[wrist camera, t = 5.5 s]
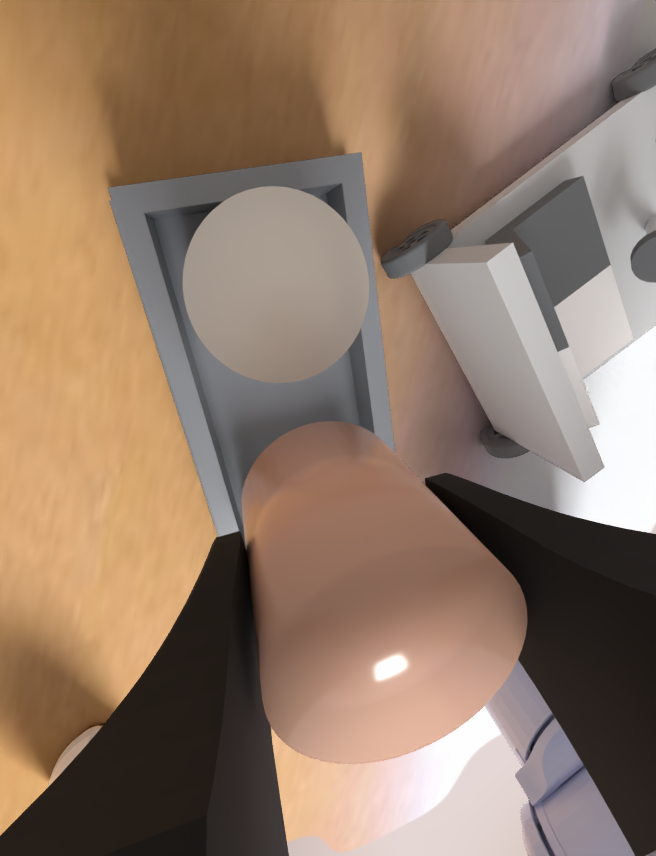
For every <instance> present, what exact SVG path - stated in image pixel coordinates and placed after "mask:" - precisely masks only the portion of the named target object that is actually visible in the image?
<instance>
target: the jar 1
mask: <svg viewBox="0 0 656 856" xmlns="http://www.w3.org/2000/svg"><path fill="white" fill-rule="evenodd" d="M183 295H184V301H185V305H186V310H187V313H188V316H189V318H190V321H191V324H192V326H193V328H194V330H195V332H196V334H197V335H198V337H199V338H200V340H201V341H202V343H203V344H204V346H205V347H206V348H207V349H208V350H209V351H210V352H211V354H212V355H213V356H214V357H216V358H217V359H218V360H219V361H220V362H221V363H222V364H224V365H225V366H227V367H228V368H230V369H231V370H233V371H235V372H237V373H239V374H241V375H243V376H245V377H248V378H251V379H254V380H258V381H263V382H270V383H289V382H295V381H300V380H303V379H307V378H310V377H312V376H314V375H316V374H319V373H321V372H322V371H324V370H326V369H327V368H329V367H330V366H331V365H333V364H334V363H335V362H336V361H338V360H339V359H340V358H341V357H342V356H343V355H344V354H345V353H346V351H347V350H348V349H349V347H350V346H351V345H352V343H353V342H354V340H355V338H356V337H357V335H358V333H359V331H360V329H361V326H362V324H363V321H364V318H365V315H366V311H367V306H368V300H369V275H368V270H367V264H366V261H365V257H364V254H363V251H362V249H361V246H360V244H359V242H358V240H357V238H356V236H355V235H354V233H353V231H352V230H351V228H350V227H349V225H348V224H347V223H346V222H345V220H344V219H343V218H342V217H341V216H340V215H339V214H338V213H337V212H336V211H335V210H334V209H333V208H331V207H330V206H329V205H327V204H326V203H325V202H323V201H322V200H320V199H318V198H316V197H315V196H313V195H311V194H308V193H306V192H303V191H300V190H297V189H292V188H288V187H278V186H268V187H258V188H254V189H249V190H246V191H243V192H241V193H238V194H236V195H234V196H232V197H230V198H228V199H227V200H225V201H223V202H222V203H221V204H220V205H218V206H217V207H216V208H215V209H213V210H212V211H211V212H210V213H209V215H208V216H207V217H206V218H205V219H204V220H203V221H202V223H201V224H200V226H199V227H198V229H197V230H196V232H195V234H194V236H193V238H192V240H191V242H190V245H189V248H188V251H187V254H186V257H185V263H184V268H183Z"/></svg>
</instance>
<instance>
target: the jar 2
mask: <svg viewBox="0 0 656 856" xmlns="http://www.w3.org/2000/svg"><path fill="white" fill-rule="evenodd" d="M242 516H243V525H244V535H245V544H246V553H247V562H248V571H249V581H250V590H251V599H252V608H253V618H254V627H255V636H256V645H257V655H258V664H259V673H260V682H261V692H262V701H263V705H264V710H265V714H266V716H267V719H268V721H269V723H270V726H271V727H272V729H273V730H274V731H275V733H276V734H277V736H278V737H279V738H280V739H281V740H282V741H283V742H284V743H286V744H287V745H288V746H289V747H291V748H292V749H294V750H295V751H297V752H299V753H301V754H303V755H305V756H307V757H310V758H313V759H316V760H320V761H323V762H330V763H337V764H363V763H372V762H378V761H384V760H388V759H392V758H396V757H399V756H402V755H405V754H408V753H411V752H414V751H416V750H418V749H421V748H423V747H425V746H428V745H430V744H432V743H433V742H435V741H437V740H439V739H441V738H443V737H444V736H446V735H448V734H449V733H451V732H452V731H454V730H456V729H457V728H458V727H460V726H461V725H462V724H464V723H465V722H466V721H468V720H469V719H470V718H472V717H473V716H474V715H475V714H476V713H477V712H478V711H480V710H481V709H482V708H483V707H484V706H485V705H486V704H487V703H488V702H489V701H490V700H491V698H492V697H493V696H494V695H495V694H496V693H497V691H498V690H499V689H500V688H501V686H502V685H503V684H504V682H505V681H506V679H507V678H508V676H509V675H510V673H511V671H512V670H513V668H514V666H515V664H516V662H517V660H518V658H519V655H520V653H521V650H522V648H523V644H524V640H525V636H526V630H527V607H526V602H525V597H524V595H523V592H522V590H521V587H520V585H519V584H518V582H517V581H516V579H515V578H514V576H513V575H512V574H511V573H510V572H509V571H508V570H507V569H506V568H505V566H504V565H503V564H502V563H501V562H500V561H499V560H498V559H497V558H496V557H495V556H494V555H493V554H492V553H491V552H490V551H489V550H488V549H487V548H486V547H485V546H484V545H483V544H482V543H481V542H480V541H479V540H478V539H477V538H476V537H475V536H474V535H473V534H472V532H471V531H470V530H469V529H468V528H467V527H466V526H465V525H464V524H463V523H462V522H461V521H460V520H459V519H458V518H457V517H456V516H455V515H454V514H453V513H452V512H451V511H450V510H449V509H448V508H447V507H446V506H445V505H444V504H443V503H442V502H441V501H440V500H439V498H438V497H437V496H436V495H435V494H434V493H433V492H432V491H431V490H430V489H429V488H428V487H427V486H426V485H425V484H424V483H423V482H422V481H421V480H420V479H419V478H418V477H417V476H416V475H415V474H414V473H413V472H412V471H411V470H410V469H409V468H408V467H407V465H406V464H405V463H404V462H403V461H402V460H401V459H400V458H399V457H398V456H397V455H396V454H395V453H394V452H393V451H392V450H391V449H390V448H389V447H388V446H387V445H386V444H385V443H384V442H383V441H382V440H381V439H380V438H379V437H378V436H376V435H375V434H374V433H372V432H371V431H369V430H367V429H365V428H363V427H360V426H358V425H355V424H351V423H347V422H339V421H322V422H316V423H311V424H307V425H304V426H301V427H298V428H296V429H294V430H291V431H289V432H287V433H286V434H284V435H282V436H281V437H279V438H278V439H276V440H275V441H274V442H273V443H271V444H270V445H269V446H268V447H267V448H266V449H265V450H264V451H263V452H262V453H261V454H260V456H259V457H258V458H257V459H256V461H255V462H254V464H253V466H252V467H251V469H250V471H249V473H248V475H247V478H246V480H245V484H244V487H243V492H242Z"/></svg>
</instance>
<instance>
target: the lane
mask: <svg viewBox="0 0 656 856" xmlns="http://www.w3.org/2000/svg"><path fill="white" fill-rule="evenodd" d="M268 186H278V187H288V188H292V189H297V190H300V191H303V192H306V193H308V194H311V195H313V196H315V197H316V198H318V199H320V200H322V201H323V202H325V203H326V204H327V205H329V206H330V207H331V208H333V209H334V210H335V211H336V212H337V213H338V214H339V215H340V216H341V217H342V218H343V219H344V220H345V222H346V223H347V224H348V225H349V227H350V228H351V230H352V231H353V233H354V235H355V236H356V238H357V240H358V242H359V244H360V246H361V249H362V251H363V254H364V257H365V261H366V264H367V270H368V275H369V300H368V306H367V311H366V315H365V318H364V321H363V324H362V326H361V329H360V331H359V333H358V335H357V337H356V338H355V340H354V342H353V343H352V345H351V346H350V347H349V349H348V350H347V351H346V353H345V354H344V355H343V356H342V357H341V358H340V359H339V360H338V361H336V362H335V363H334V364H333V365H331V366H330V367H329V368H327V369H326V370H324V371H322V372H321V373H319V374H316V375H314V376H312V377H310V378H307V379H303V380H300V381H295V382H289V383H270V382H263V381H258V380H254V379H251V378H248V377H245V376H243V375H241V374H239V373H237V372H235V371H233V370H231V369H230V368H228V367H227V366H225V365H224V364H222V363H221V362H220V361H219V360H218V359H217V358H216V357H214V356H213V355H212V354H211V352H210V351H209V350H208V349H207V348H206V347H205V346H204V344H203V343H202V341H201V340H200V338H199V337H198V335H197V334H196V332H195V330H194V328H193V326H192V324H191V321H190V318H189V316H188V313H187V310H186V305H185V301H184V295H183V268H184V263H185V257H186V254H187V251H188V248H189V245H190V242H191V240H192V238H193V236H194V234H195V232H196V230H197V229H198V227H199V226H200V224H201V223H202V221H203V220H204V219H205V218H206V217H207V216H208V215H209V213H210V212H211V211H212V210H213V209H215V208H216V207H217V206H218V205H220V204H221V203H222V202H223V201H225V200H227V199H228V198H230V197H232V196H234V195H236V194H238V193H241V192H243V191H246V190H249V189H254V188H258V187H268ZM108 190H109V193H110V196H111V199H112V200H110V201H109V202H110V205H111V208H112V211H113V214H114V217H115V220H116V223H117V226H118V229H119V232H120V236H121V239H122V242H123V245H124V248H125V251H126V254H127V257H128V260H129V263H130V266H131V269H132V273H133V276H134V279H135V282H136V285H137V288H138V291H139V294H140V297H141V300H142V303H143V306H144V309H145V313H146V316H147V319H148V322H149V325H150V328H151V331H152V334H153V337H154V340H155V343H156V346H157V350H158V353H159V356H160V359H161V362H162V365H163V368H164V371H165V374H166V377H167V380H168V383H169V387H170V390H171V393H172V396H173V399H174V402H175V405H176V408H177V411H178V414H179V417H180V420H181V424H182V427H183V430H184V433H185V436H186V439H187V442H188V445H189V448H190V451H191V454H192V457H193V461H194V464H195V467H196V470H197V473H198V476H199V479H200V482H201V485H202V488H203V491H204V494H205V498H206V501H207V504H208V507H209V510H210V513H211V516H212V519H213V522H214V525H215V528H216V531H217V535H218V537H220V536H223V535H227V534H230V533H234V532H237V531H241V534H242V538H243V541H244V545H245V548H246V544H245V535H244V525H243V516H242V492H243V487H244V484H245V480H246V478H247V475H248V473H249V471H250V469H251V467H252V466H253V464H254V462H255V461H256V459H257V458H258V457H259V456H260V454H261V453H262V452H263V451H264V450H265V449H266V448H267V447H268V446H269V445H270V444H271V443H273V442H274V441H275V440H276V439H278V438H279V437H281V436H282V435H284V434H286V433H287V432H289V431H291V430H294V429H296V428H298V427H301V426H304V425H307V424H311V423H316V422H322V421H339V422H347V423H351V424H355V425H358V426H360V427H363V428H365V429H367V430H369V431H371V432H372V433H374V434H375V435H376V436H378V437H379V438H380V439H381V440H382V441H383V442H384V443H385V444H386V445H387V446H388V447H389V448H390V449H391V450H392V451H393V452H394V453H395V448H394V439H393V430H392V421H391V412H390V403H389V394H388V386H387V377H386V368H385V359H384V350H383V341H382V332H381V323H380V314H379V305H378V296H377V287H376V278H375V269H374V260H373V251H372V242H371V233H370V224H369V215H368V206H367V197H366V188H365V179H364V171H363V162H362V153H361V152H360V153H353V154H346V155H339V156H332V157H325V158H317V159H310V160H303V161H296V162H289V163H281V164H274V165H267V166H260V167H253V168H246V169H238V170H231V171H224V172H217V173H210V174H202V175H195V176H188V177H181V178H174V179H167V180H159V181H152V182H145V183H138V184H131V185H123V186H116V187H109V188H108Z"/></svg>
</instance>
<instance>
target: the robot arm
mask: <svg viewBox="0 0 656 856" xmlns="http://www.w3.org/2000/svg"><path fill="white" fill-rule="evenodd" d="M425 484H426V486H427V487H428V488H429V489H430V490H431V491H432V492H433V493H434V494H435V495H436V496H437V497H438V498H439V500H440V501H441V502H442V503H443V504H444V505H445V506H446V507H447V508H448V509H449V510H450V511H451V512H452V513H453V514H454V515H455V516H456V517H457V518H458V519H459V520H460V521H461V522H462V523H463V524H464V525H465V526H466V527H467V528H468V529H469V530H470V531H471V532H472V534H473V535H474V536H475V537H476V538H477V539H478V540H479V541H480V542H481V543H482V544H483V545H484V546H485V547H486V548H487V549H488V550H489V551H490V552H491V553H492V554H493V555H494V556H495V557H496V558H497V559H498V560H499V561H500V562H501V563H502V564H503V565H504V566H505V568H506V569H507V570H508V571H509V572H510V573H511V574H512V575H513V576H514V578H515V579H516V581H517V582H518V584H519V585H520V587H521V590H522V592H523V595H524V597H525V602H526V607H527V630H526V636H525V640H524V644H523V648H522V650H521V653H520V655H519V658H518V660H517V662H516V664H515V666H514V668H513V670H512V671H511V673H510V675H509V676H508V678H507V679H506V681H505V682H504V684H503V685H502V686H501V688H500V689H499V690H498V691H497V693H496V694H495V695H494V696H493V697H492V698H491V700H490V701H489V702H488V703H487V704H486V705H485V707H486V709H487V710H488V712H489V714H490V715H491V717H492V719H493V720H494V722H495V723H496V725H497V727H498V728H499V730H500V732H501V733H502V735H503V736H504V738H505V740H506V741H507V743H508V744H509V746H510V748H511V749H512V751H513V753H514V754H515V756H516V758H517V759H518V761H519V762H520V764H521V766H522V768H521V769H520V770H519V771H518V772H517V773H516V774H515V776H516V778H517V780H518V781H519V783H520V785H521V787H522V788H523V790H524V792H525V793H526V795H527V797H528V799H529V800H528V801H527V802H525V803H524V804H523V806H522V808H521V821H522V832H523V841H524V845H525V848H526V851H527V854H528V856H656V534H652V533H646V532H641V531H635V530H629V529H624V528H619V527H614V526H610V525H605V524H601V523H597V522H593V521H589V520H585V519H581V518H577V517H573V516H569V515H566V514H562V513H559V512H555V511H552V510H549V509H546V508H543V507H539V506H536V505H533V504H530V503H527V502H524V501H521V500H519V499H516V498H513V497H510V496H508V495H505V494H502V493H499V492H497V491H494V490H492V489H489V488H486V487H484V486H481V485H478V484H476V483H473V482H471V481H468V480H465V479H463V478H460V477H457V476H454V475H451V474H448V473H443V474H439V475H436V476H432V477H429V478H425ZM0 856H289V854H288V847H287V841H286V834H285V827H284V821H283V814H282V807H281V801H280V794H279V787H278V780H277V773H276V766H275V759H274V752H273V745H272V736H271V726H270V723H269V721H268V719H267V716H266V714H265V710H264V705H263V701H262V692H261V682H260V673H259V664H258V655H257V645H256V636H255V627H254V618H253V608H252V599H251V590H250V581H249V571H248V562H247V553H246V548H245V545H244V541H243V538H242V534H241V531H237V532H234V533H230V534H227V535H223V536H220V537H216V539H215V540H214V542H213V544H212V547H211V549H210V552H209V554H208V557H207V559H206V561H205V564H204V566H203V568H202V571H201V573H200V575H199V577H198V579H197V581H196V583H195V586H194V588H193V590H192V592H191V594H190V596H189V598H188V600H187V602H186V604H185V606H184V607H183V609H182V611H181V613H180V615H179V616H178V618H177V620H176V622H175V624H174V625H173V627H172V629H171V631H170V632H169V634H168V636H167V637H166V639H165V641H164V642H163V644H162V646H161V647H160V649H159V650H158V652H157V653H156V655H155V656H154V658H153V659H152V661H151V662H150V664H149V665H148V667H147V668H146V670H145V671H144V673H143V674H142V676H141V677H140V678H139V680H138V681H137V682H136V684H135V685H134V686H133V688H132V689H131V690H130V692H129V693H128V694H127V696H126V697H125V698H124V700H123V701H122V702H121V703H120V705H119V706H118V707H117V709H116V710H115V711H114V712H113V714H112V715H111V716H110V718H109V719H108V720H107V721H106V723H105V724H104V725H103V726H102V727H101V729H100V730H99V731H98V732H97V733H96V734H95V736H94V737H93V738H92V739H91V740H90V741H89V743H88V744H87V745H86V746H85V747H84V748H83V750H82V751H81V752H80V753H79V754H78V755H77V756H76V757H75V758H74V760H73V761H72V762H71V763H70V764H69V765H68V766H67V767H66V768H65V770H64V771H63V772H62V773H61V774H60V775H59V776H58V777H57V778H56V779H55V780H54V781H53V783H52V784H51V785H50V786H49V787H48V788H47V789H46V790H45V791H44V792H43V793H42V794H41V795H40V796H39V797H38V798H37V799H36V800H35V801H34V802H33V803H32V804H31V805H30V806H29V807H28V808H27V809H26V810H25V811H24V812H23V813H22V814H21V815H20V816H19V817H18V818H17V819H16V820H15V821H14V822H13V823H12V824H11V826H10V827H9V828H8V829H7V830H6V831H5V832H4V833H3V834H2V835H1V836H0Z"/></svg>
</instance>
